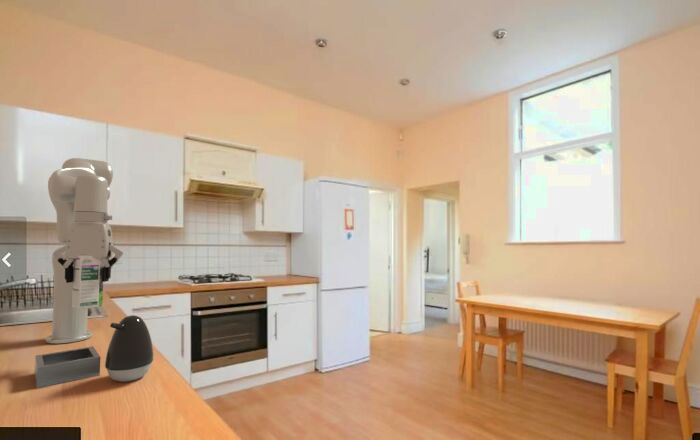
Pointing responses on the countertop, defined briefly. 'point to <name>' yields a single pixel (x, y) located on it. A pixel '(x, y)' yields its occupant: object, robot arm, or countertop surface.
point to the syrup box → (87, 282)
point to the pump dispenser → (129, 350)
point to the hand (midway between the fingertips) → (87, 281)
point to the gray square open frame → (66, 366)
